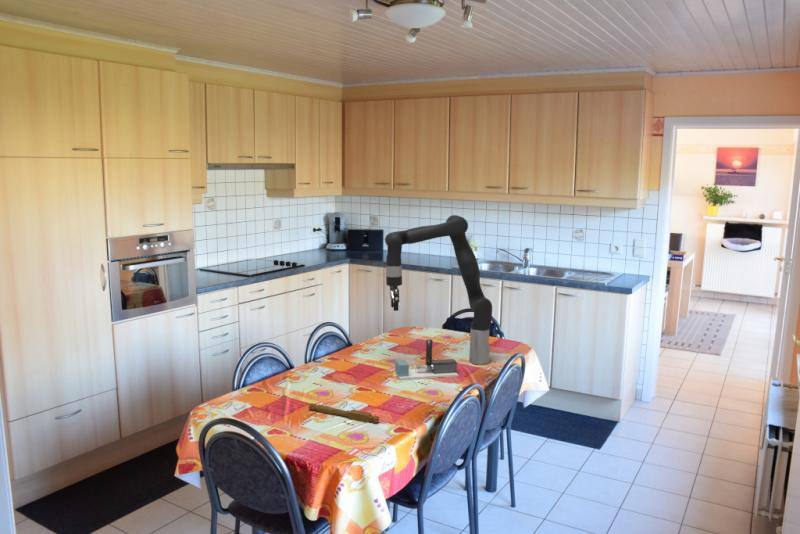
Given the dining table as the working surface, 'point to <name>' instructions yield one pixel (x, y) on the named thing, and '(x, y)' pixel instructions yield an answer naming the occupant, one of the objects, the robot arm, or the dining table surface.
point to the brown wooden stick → (345, 413)
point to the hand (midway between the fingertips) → (394, 308)
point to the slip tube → (427, 358)
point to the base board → (425, 374)
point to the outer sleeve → (444, 366)
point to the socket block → (401, 368)
